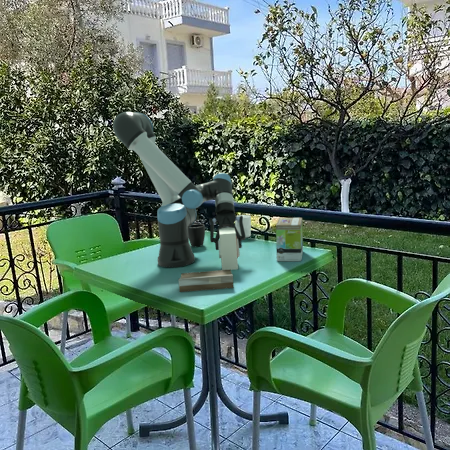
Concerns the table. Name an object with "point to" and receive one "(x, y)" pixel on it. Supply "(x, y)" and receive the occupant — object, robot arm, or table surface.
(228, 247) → the cream carton
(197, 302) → the table surface
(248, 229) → the white cup
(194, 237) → the mug
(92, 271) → the table surface
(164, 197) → the robot arm
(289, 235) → the tea box
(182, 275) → the shelf board
